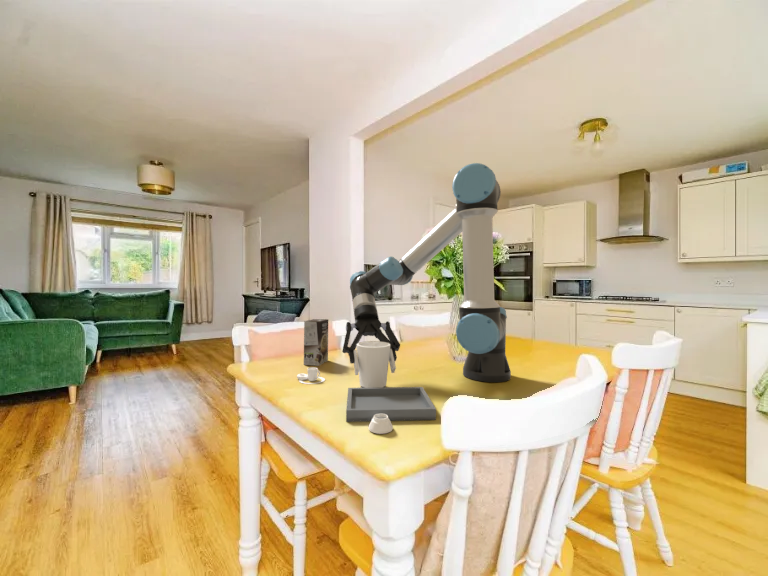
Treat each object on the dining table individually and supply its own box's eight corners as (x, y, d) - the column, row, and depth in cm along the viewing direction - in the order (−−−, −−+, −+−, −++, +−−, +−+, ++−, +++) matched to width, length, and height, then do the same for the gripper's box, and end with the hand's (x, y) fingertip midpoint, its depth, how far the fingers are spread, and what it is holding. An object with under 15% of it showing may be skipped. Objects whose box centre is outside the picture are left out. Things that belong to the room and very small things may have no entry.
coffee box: (319, 366, 124) (320, 321, 124) (303, 365, 126) (303, 321, 125) (328, 360, 133) (329, 318, 133) (313, 359, 135) (313, 318, 134)
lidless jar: (397, 431, 72) (382, 423, 75) (397, 417, 71) (383, 410, 75) (378, 437, 68) (363, 429, 72) (378, 423, 68) (364, 415, 72)
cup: (397, 388, 99) (397, 344, 99) (369, 395, 93) (370, 348, 93) (376, 380, 107) (376, 339, 107) (349, 386, 101) (349, 343, 101)
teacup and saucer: (293, 380, 108) (293, 367, 108) (315, 376, 113) (315, 363, 113) (307, 387, 101) (307, 373, 101) (330, 382, 106) (330, 369, 106)
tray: (422, 396, 93) (422, 386, 93) (435, 419, 77) (436, 408, 77) (348, 397, 92) (348, 387, 92) (346, 421, 76) (346, 410, 76)
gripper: (396, 317, 117) (410, 376, 103) (329, 318, 112) (334, 380, 97) (400, 303, 112) (416, 362, 97) (331, 303, 107) (336, 366, 92)
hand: (375, 371), depth 97 cm, fingers closed on cup, 10 cm apart
